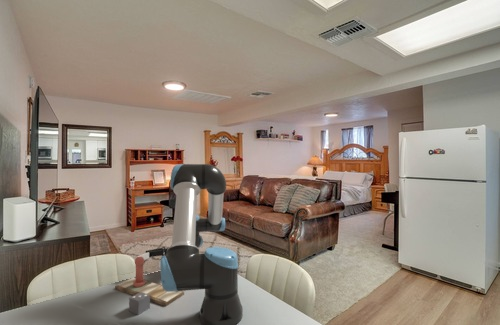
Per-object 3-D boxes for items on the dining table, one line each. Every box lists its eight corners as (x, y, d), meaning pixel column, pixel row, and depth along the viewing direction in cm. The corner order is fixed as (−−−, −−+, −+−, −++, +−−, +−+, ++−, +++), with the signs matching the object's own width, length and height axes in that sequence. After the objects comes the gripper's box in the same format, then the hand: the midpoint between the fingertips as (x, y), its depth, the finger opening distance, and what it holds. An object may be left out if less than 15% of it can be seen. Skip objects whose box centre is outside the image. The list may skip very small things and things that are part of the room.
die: (149, 308, 94) (149, 294, 95) (138, 315, 90) (138, 301, 90) (140, 304, 97) (140, 291, 97) (129, 311, 92) (129, 297, 92)
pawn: (147, 283, 111) (147, 255, 111) (138, 288, 106) (138, 259, 107) (140, 281, 113) (140, 254, 113) (130, 286, 109) (130, 257, 109)
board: (184, 294, 104) (184, 291, 104) (165, 306, 95) (165, 302, 95) (135, 279, 118) (135, 276, 118) (115, 288, 109) (115, 285, 109)
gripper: (199, 259, 127) (168, 275, 108) (163, 251, 139) (129, 265, 120) (199, 244, 127) (168, 258, 108) (163, 238, 139) (129, 249, 120)
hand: (147, 262), depth 114 cm, fingers open, 13 cm apart
